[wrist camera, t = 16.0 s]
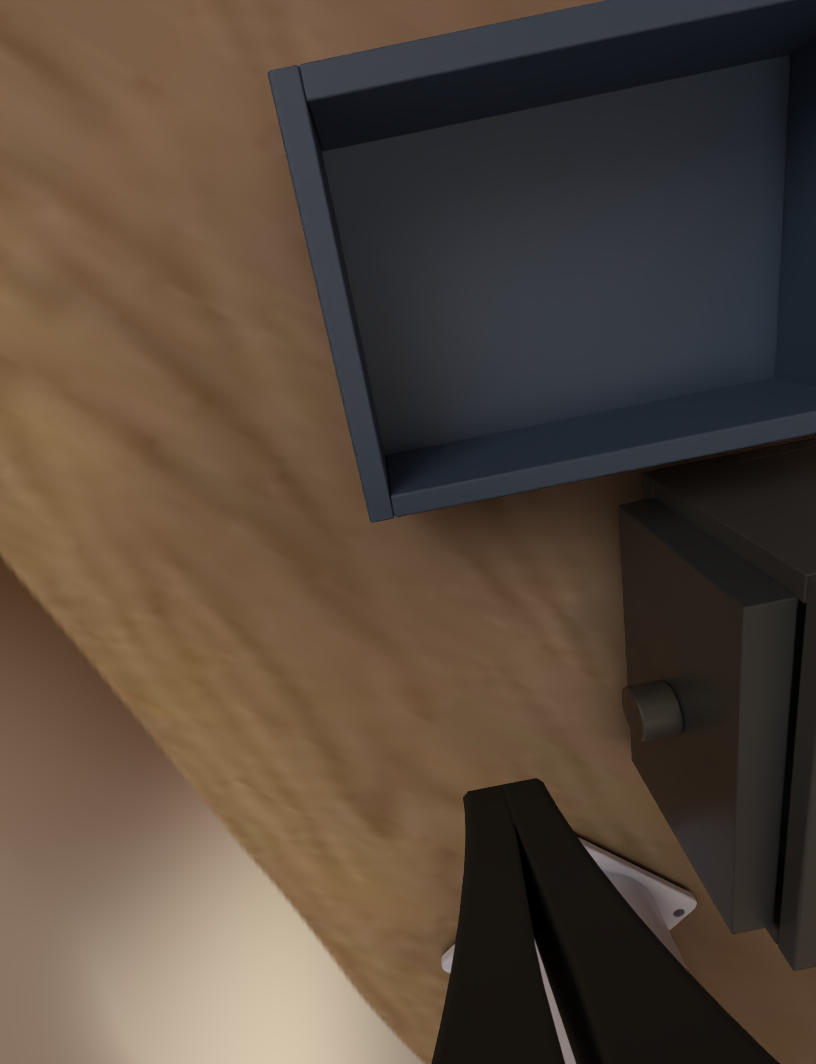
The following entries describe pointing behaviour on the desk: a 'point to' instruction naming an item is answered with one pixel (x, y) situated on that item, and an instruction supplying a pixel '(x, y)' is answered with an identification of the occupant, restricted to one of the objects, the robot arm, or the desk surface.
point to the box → (563, 242)
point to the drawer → (712, 702)
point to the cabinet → (812, 575)
